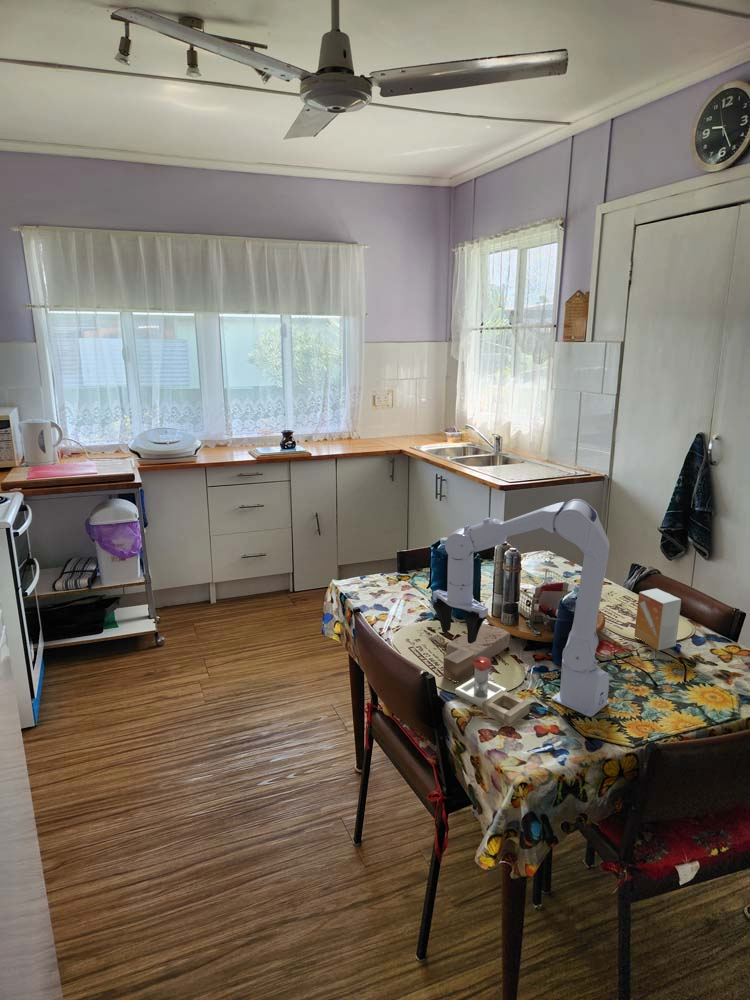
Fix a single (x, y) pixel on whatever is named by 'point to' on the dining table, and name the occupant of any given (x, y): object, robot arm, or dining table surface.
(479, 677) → the pin
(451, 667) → the brown rectangular block
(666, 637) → the small box
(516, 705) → the socket block
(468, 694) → the tray
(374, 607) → the dining table surface
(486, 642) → the brick
